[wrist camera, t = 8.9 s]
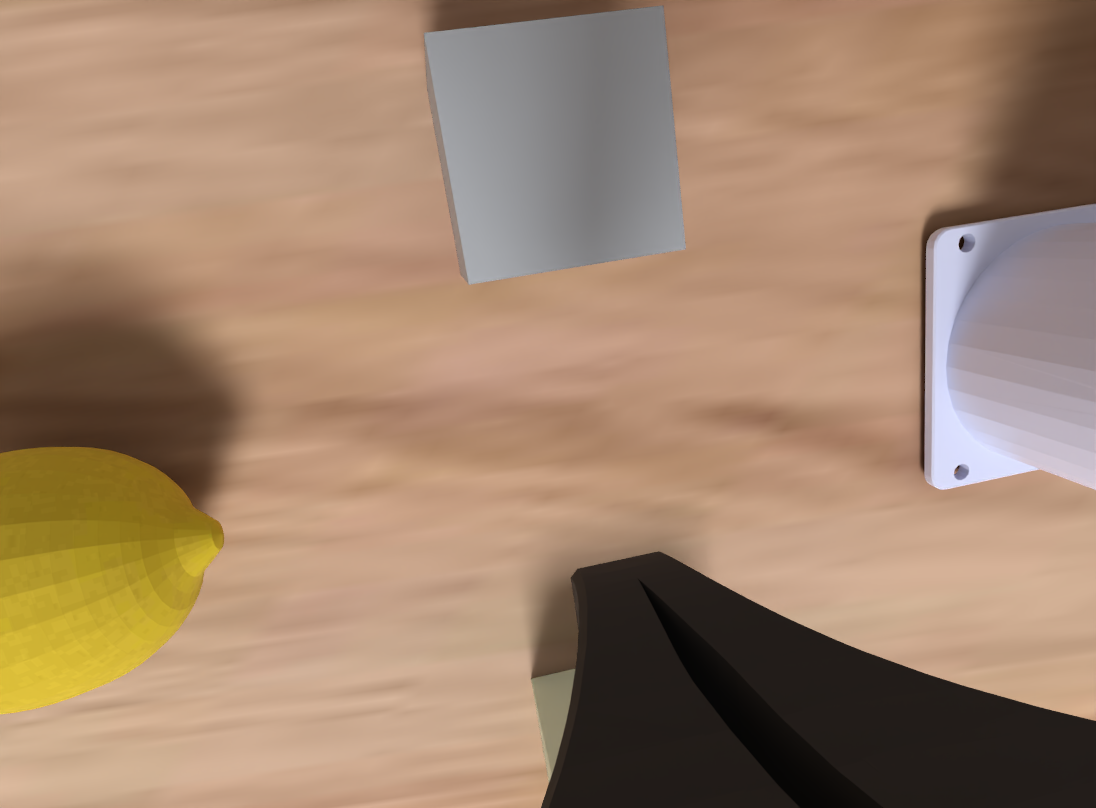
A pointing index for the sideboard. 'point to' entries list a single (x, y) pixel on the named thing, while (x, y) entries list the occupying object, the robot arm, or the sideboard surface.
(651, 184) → the slate block
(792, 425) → the sideboard surface
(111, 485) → the lemon
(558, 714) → the sage block
